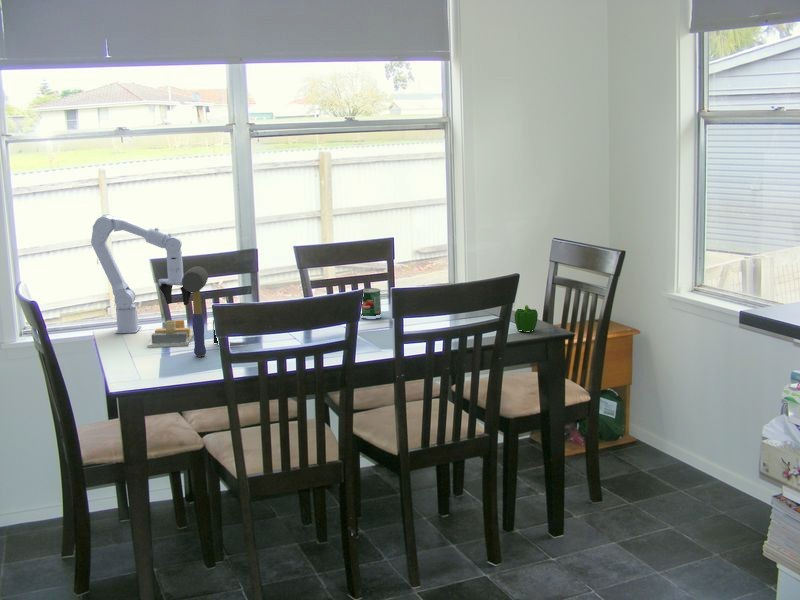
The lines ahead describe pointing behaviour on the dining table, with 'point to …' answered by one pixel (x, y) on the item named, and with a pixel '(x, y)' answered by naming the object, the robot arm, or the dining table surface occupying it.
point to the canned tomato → (371, 302)
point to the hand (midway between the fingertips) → (177, 304)
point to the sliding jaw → (179, 328)
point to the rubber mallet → (196, 304)
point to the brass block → (170, 326)
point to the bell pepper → (526, 319)
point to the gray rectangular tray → (170, 339)
